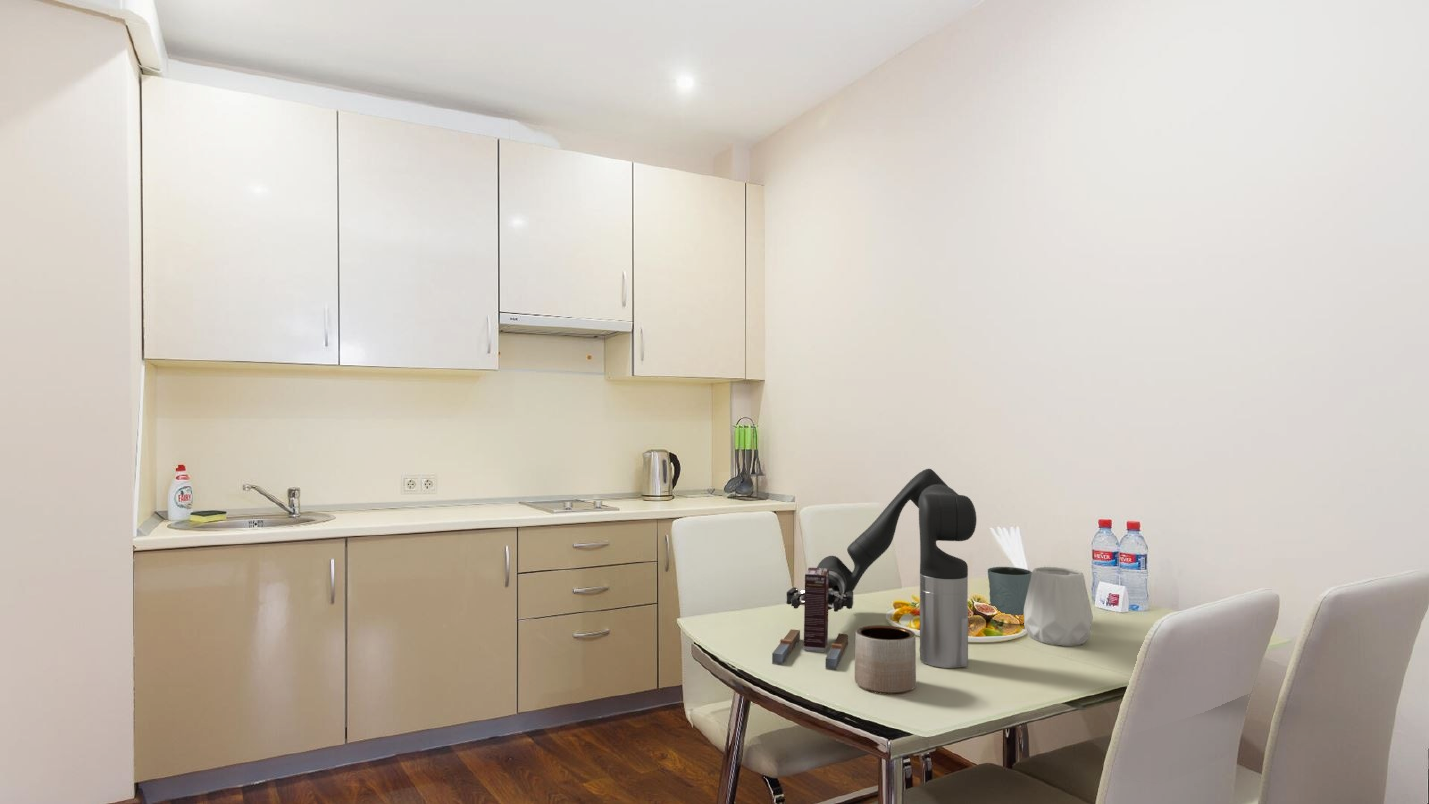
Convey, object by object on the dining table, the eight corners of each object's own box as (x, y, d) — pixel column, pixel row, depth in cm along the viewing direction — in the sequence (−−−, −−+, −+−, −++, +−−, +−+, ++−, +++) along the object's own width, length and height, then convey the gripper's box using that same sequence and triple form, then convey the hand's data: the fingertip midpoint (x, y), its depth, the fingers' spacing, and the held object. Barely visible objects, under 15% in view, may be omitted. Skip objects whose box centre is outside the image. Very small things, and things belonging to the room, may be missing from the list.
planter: (926, 685, 145) (926, 632, 145) (897, 700, 137) (897, 644, 137) (874, 672, 152) (874, 621, 153) (843, 685, 144) (843, 632, 145)
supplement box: (826, 652, 165) (826, 575, 165) (802, 651, 166) (803, 574, 166) (828, 641, 173) (829, 567, 174) (806, 639, 174) (807, 566, 175)
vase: (1094, 636, 179) (1093, 568, 180) (1091, 652, 167) (1091, 579, 167) (1027, 628, 186) (1027, 562, 186) (1020, 643, 173) (1020, 573, 174)
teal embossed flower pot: (1026, 616, 197) (1026, 567, 198) (1036, 626, 187) (1036, 575, 188) (983, 614, 199) (984, 566, 199) (992, 624, 189) (992, 573, 189)
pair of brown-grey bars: (848, 643, 172) (848, 631, 172) (835, 669, 153) (835, 656, 153) (790, 638, 175) (790, 626, 175) (772, 663, 157) (772, 650, 157)
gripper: (857, 608, 181) (849, 626, 166) (795, 603, 185) (781, 620, 170) (858, 575, 181) (849, 589, 166) (796, 571, 186) (781, 585, 170)
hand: (815, 605), depth 168 cm, fingers open, 8 cm apart
